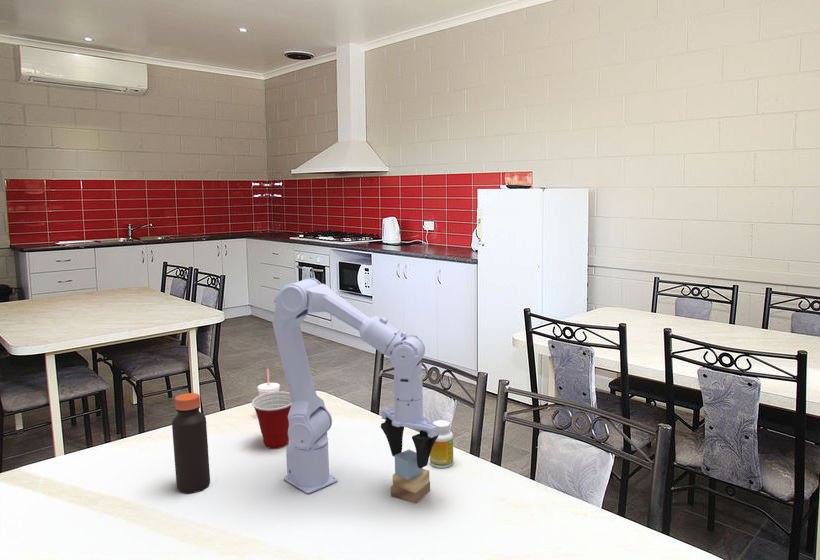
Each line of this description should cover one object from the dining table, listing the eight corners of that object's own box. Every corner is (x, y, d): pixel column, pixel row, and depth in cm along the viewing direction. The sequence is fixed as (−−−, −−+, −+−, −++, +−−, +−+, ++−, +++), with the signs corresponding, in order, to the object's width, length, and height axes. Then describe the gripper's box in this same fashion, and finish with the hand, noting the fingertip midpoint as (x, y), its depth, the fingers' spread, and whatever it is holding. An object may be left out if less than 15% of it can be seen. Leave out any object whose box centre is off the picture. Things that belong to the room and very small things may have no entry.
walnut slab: (390, 498, 120) (390, 486, 120) (405, 485, 125) (405, 474, 125) (415, 505, 117) (415, 494, 117) (430, 492, 122) (430, 481, 122)
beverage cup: (255, 419, 163) (252, 371, 161) (264, 412, 169) (261, 365, 167) (276, 421, 162) (273, 372, 160) (284, 413, 168) (282, 365, 166)
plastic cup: (248, 453, 142) (245, 406, 140) (261, 435, 152) (259, 391, 151) (292, 453, 141) (290, 406, 139) (302, 435, 152) (300, 391, 150)
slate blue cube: (395, 473, 120) (394, 455, 120) (409, 467, 123) (409, 449, 122) (408, 480, 117) (407, 461, 117) (422, 473, 120) (422, 455, 120)
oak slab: (392, 486, 120) (392, 475, 120) (407, 475, 125) (406, 464, 124) (415, 493, 117) (415, 481, 117) (429, 481, 122) (429, 470, 122)
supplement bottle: (451, 469, 132) (451, 428, 130) (428, 467, 133) (427, 426, 131) (454, 459, 137) (454, 419, 135) (431, 457, 138) (431, 418, 137)
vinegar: (197, 475, 131) (191, 389, 128) (216, 483, 127) (211, 395, 124) (170, 488, 125) (163, 398, 122) (189, 497, 121) (182, 404, 118)
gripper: (370, 393, 120) (371, 455, 122) (419, 410, 110) (420, 478, 112) (395, 385, 125) (396, 445, 127) (445, 401, 115) (445, 466, 117)
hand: (409, 460), depth 120 cm, fingers open, 7 cm apart
